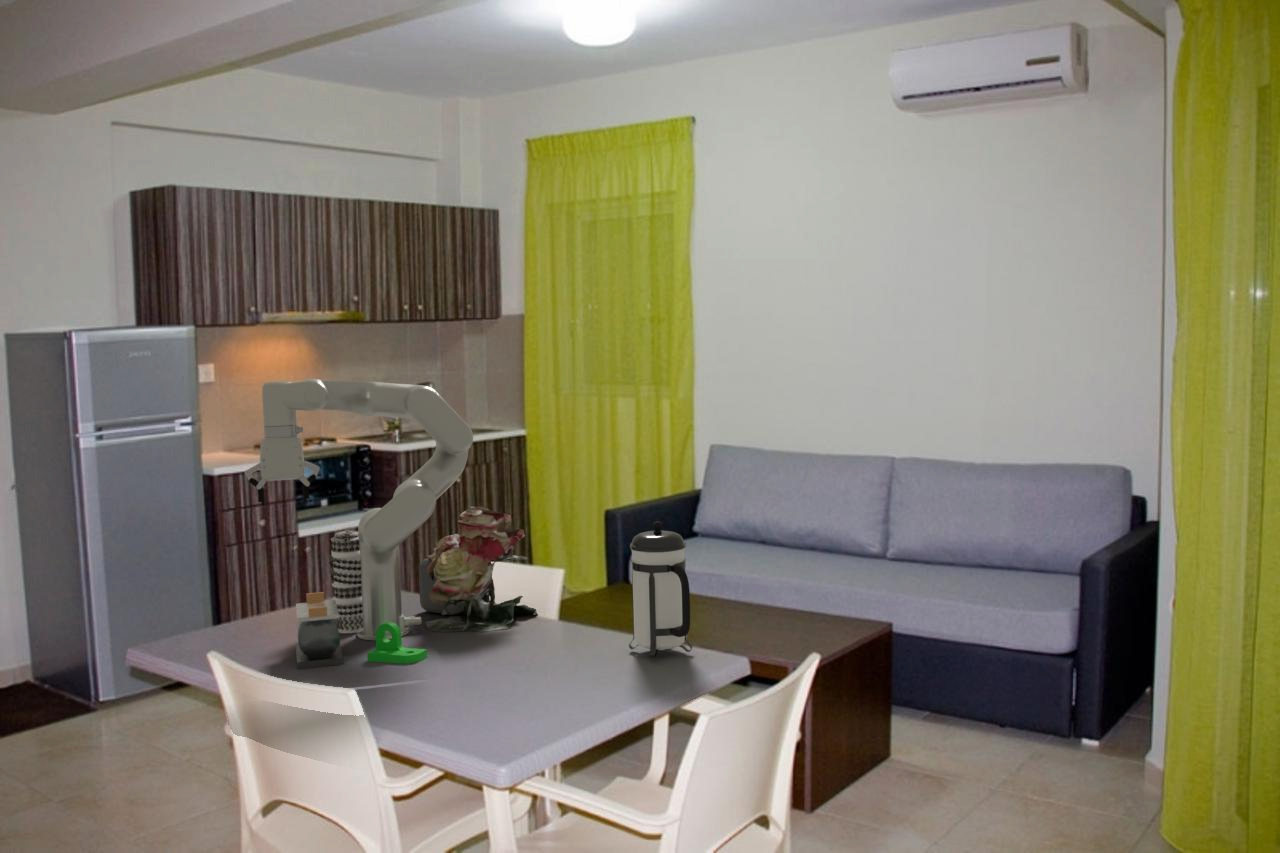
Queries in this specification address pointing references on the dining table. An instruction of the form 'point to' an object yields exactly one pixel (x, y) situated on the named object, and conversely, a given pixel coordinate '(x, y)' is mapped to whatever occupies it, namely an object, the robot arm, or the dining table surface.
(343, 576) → the decorative candle
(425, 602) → the alarm clock
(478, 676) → the dining table surface
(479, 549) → the rose bouquet
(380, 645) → the mechanical part
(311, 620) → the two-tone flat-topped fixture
